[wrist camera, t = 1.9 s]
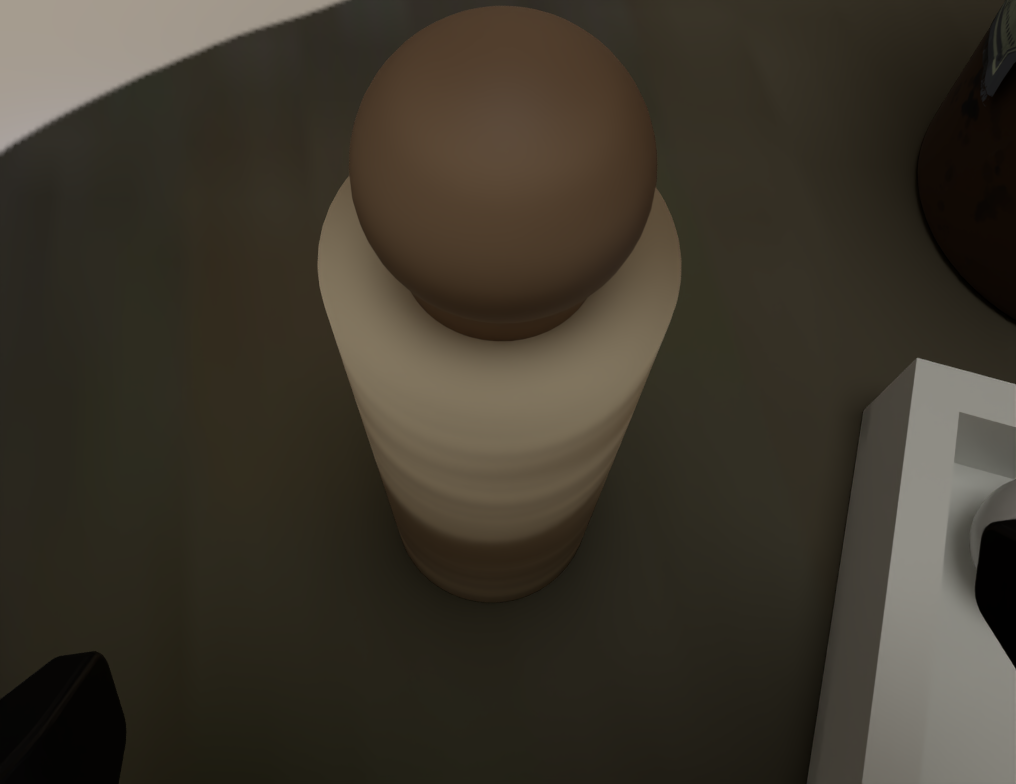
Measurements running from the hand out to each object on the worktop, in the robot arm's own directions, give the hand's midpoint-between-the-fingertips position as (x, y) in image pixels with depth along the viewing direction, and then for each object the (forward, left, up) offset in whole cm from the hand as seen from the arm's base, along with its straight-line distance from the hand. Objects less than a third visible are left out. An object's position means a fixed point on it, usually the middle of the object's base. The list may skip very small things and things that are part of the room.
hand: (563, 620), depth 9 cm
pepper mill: (+4, +2, -11) cm, 12 cm away
